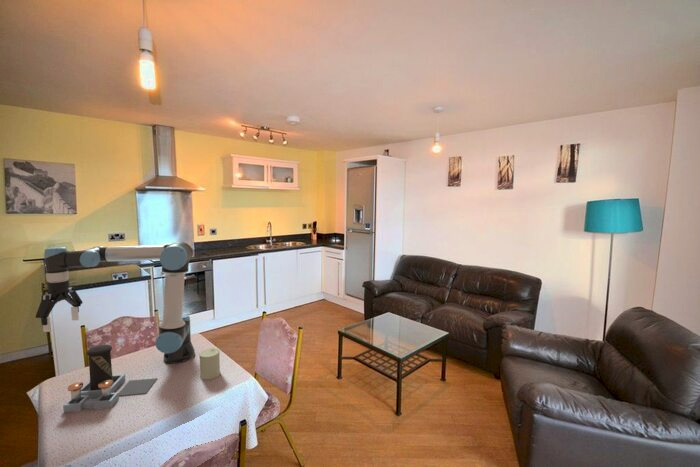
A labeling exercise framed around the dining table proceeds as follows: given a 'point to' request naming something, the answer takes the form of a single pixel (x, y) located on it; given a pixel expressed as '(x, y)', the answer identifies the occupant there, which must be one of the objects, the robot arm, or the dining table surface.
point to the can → (209, 364)
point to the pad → (137, 387)
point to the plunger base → (90, 403)
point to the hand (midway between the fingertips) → (62, 325)
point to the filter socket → (97, 393)
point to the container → (99, 365)
